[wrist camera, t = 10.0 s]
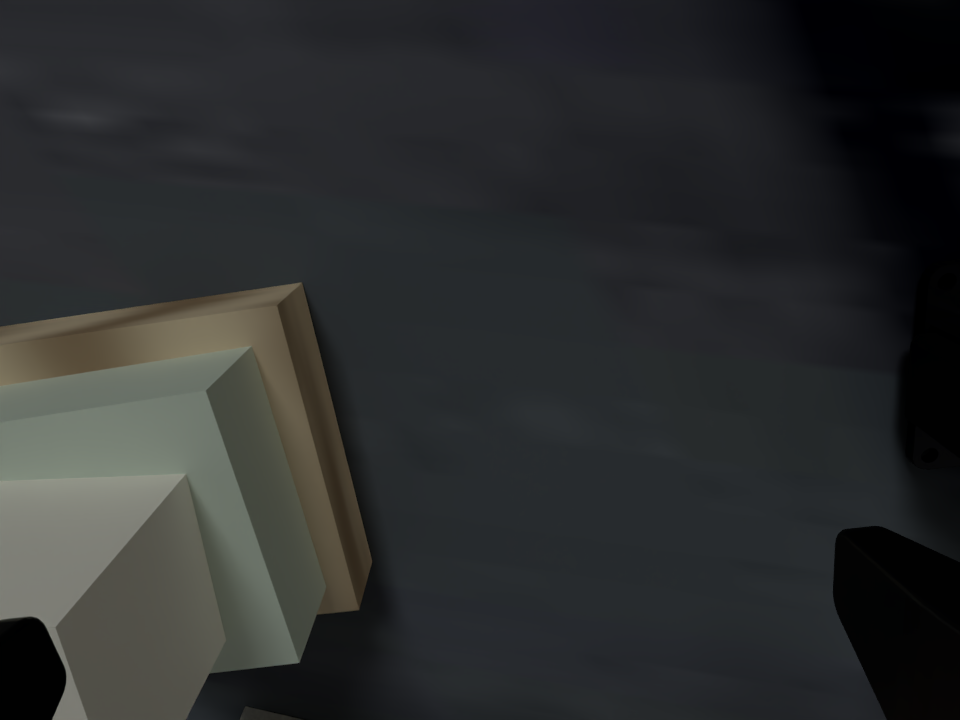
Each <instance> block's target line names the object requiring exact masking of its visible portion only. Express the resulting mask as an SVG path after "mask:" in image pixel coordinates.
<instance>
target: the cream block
mask: <svg viewBox="0 0 960 720" xmlns="http://www.w3.org/2000/svg"><path fill="white" fill-rule="evenodd" d="M27 616H32V617H36V618H38V619H40V620H41V621H42V622H43V623H44V624H45V626H46V628H47V630H48V632H49V634H50V637H51V639H52V641H53V643H54V645H55V647H56V649H57V651H58V654H59V656H60V658H61V660H62V662H63V664H64V667H65V669H66V676H67V677H66V686H65V691H64V693H63V696H62V698H61V701H60V703H59V705H58V707H57V710H56V712H55V714H54V717H53V719H52V720H186V718H187V716H188V714H189V712H190V710H191V708H192V706H193V704H194V702H195V700H196V698H197V697H198V695H199V693H200V691H201V689H202V687H203V685H204V683H205V681H206V679H207V677H208V675H209V673H210V671H211V669H212V667H213V665H214V663H215V661H216V659H217V657H218V655H219V653H220V651H221V649H222V647H223V645H224V643H225V642H226V637H225V633H224V629H223V625H222V621H221V617H220V612H219V608H218V604H217V600H216V596H215V592H214V588H213V583H212V579H211V575H210V571H209V567H208V563H207V558H206V554H205V550H204V546H203V542H202V538H201V534H200V529H199V525H198V521H197V517H196V513H195V509H194V505H193V501H192V497H191V492H190V488H189V484H188V480H187V476H186V474H169V475H143V476H117V477H90V478H64V479H38V480H12V481H0V620H2V619H8V618H18V617H27Z"/></svg>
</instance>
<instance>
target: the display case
mask: <svg viewBox="0 0 960 720" xmlns="http://www.w3.org/2000/svg"><path fill="white" fill-rule="evenodd" d="M240 720H303V719H299V718H294V717H290V716H286V715H281V714H277V713H272V712H268V711H264V710H259V709H255V708H250V707H246V706H245V708H244V711H243V713H242V715H241V718H240Z"/></svg>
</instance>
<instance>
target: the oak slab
mask: <svg viewBox="0 0 960 720" xmlns="http://www.w3.org/2000/svg"><path fill="white" fill-rule="evenodd" d="M248 346H252V349H253V352H254V355H255V358H256V362H257V365H258V368H259V371H260V374H261V378H262V381H263V384H264V387H265V391H266V394H267V397H268V400H269V403H270V407H271V410H272V413H273V416H274V420H275V423H276V426H277V429H278V432H279V436H280V439H281V442H282V445H283V449H284V452H285V455H286V458H287V461H288V465H289V468H290V471H291V474H292V478H293V481H294V484H295V487H296V490H297V494H298V497H299V500H300V503H301V507H302V510H303V513H304V516H305V519H306V523H307V526H308V529H309V532H310V536H311V539H312V542H313V545H314V548H315V552H316V555H317V558H318V561H319V565H320V568H321V571H322V574H323V577H324V581H325V584H326V590H325V593H324V595H323V598H322V601H321V604H320V607H319V610H318V612H317V615H318V614H327V613H336V612H346V611H355V610H359V608H360V605H361V601H362V597H363V594H364V590H365V586H366V583H367V579H368V575H369V572H370V568H371V564H372V558H371V554H370V550H369V546H368V542H367V538H366V534H365V530H364V526H363V522H362V519H361V515H360V511H359V507H358V503H357V499H356V495H355V491H354V487H353V483H352V479H351V475H350V471H349V467H348V463H347V459H346V455H345V451H344V447H343V443H342V439H341V435H340V431H339V427H338V423H337V419H336V415H335V411H334V407H333V403H332V399H331V395H330V391H329V387H328V383H327V379H326V375H325V371H324V367H323V363H322V359H321V355H320V352H319V348H318V344H317V340H316V336H315V332H314V328H313V324H312V320H311V316H310V312H309V308H308V304H307V300H306V296H305V292H304V288H303V284H302V283H296V284H289V285H282V286H275V287H268V288H262V289H255V290H248V291H241V292H234V293H227V294H221V295H214V296H207V297H200V298H193V299H187V300H180V301H173V302H166V303H159V304H152V305H146V306H139V307H132V308H125V309H118V310H111V311H105V312H98V313H91V314H84V315H77V316H71V317H64V318H57V319H50V320H43V321H36V322H30V323H23V324H16V325H9V326H2V327H0V386H4V385H10V384H16V383H22V382H29V381H35V380H41V379H48V378H54V377H60V376H66V375H73V374H79V373H85V372H91V371H98V370H104V369H110V368H117V367H123V366H129V365H135V364H142V363H148V362H154V361H160V360H167V359H173V358H179V357H186V356H192V355H198V354H204V353H211V352H217V351H223V350H229V349H236V348H242V347H248Z"/></svg>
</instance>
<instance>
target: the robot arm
mask: <svg viewBox="0 0 960 720" xmlns="http://www.w3.org/2000/svg"><path fill="white" fill-rule="evenodd" d="M944 274H947V276H948V278H947V281H946V283H945V284H944V285H943V286H940V287H938V281H939V279H940V278H941V277H942V276H943V275H944ZM905 417H906V418H907V419H908V427H907V439H906V457H907V458H908V459H909V461H911V462H912V463H913V464H914V465H915V466H917V467H918V468H920V469H926V470H929V469H938V468H947V467H956V466H960V259H955V260H947V261H940V262H937V263H934V264H932V265H930V266H929V267H928V268H926V270H925V271H924V272H923V274H922V276H921V280H920V288H919V300H918V311H917V323H916V335H915V338H914V339H913V341H912V342H911V347H910V358H909V370H908V382H907V394H906V406H905ZM929 448H931V449H930V451H929V453H927V454H926V455H924V456H921V455H922V453H923V452H924V451H925V450H926V449H929ZM833 598H834V603H835V607H836V610H837V614H838V616H839V618H840V620H841V623H842V625H843V627H844V629H845V631H846V633H847V635H848V638H849V640H850V642H851V644H852V646H853V648H854V650H855V652H856V655H857V657H858V659H859V661H860V663H861V665H862V667H863V670H864V672H865V674H866V676H867V678H868V680H869V682H870V685H871V687H872V689H873V691H874V693H875V695H876V697H877V700H878V702H879V704H880V706H881V708H882V710H883V712H884V714H885V717H886V719H887V720H960V562H958V561H956V560H953V559H951V558H949V557H947V556H945V555H943V554H940V553H938V552H936V551H934V550H932V549H930V548H927V547H925V546H923V545H921V544H919V543H917V542H914V541H912V540H910V539H908V538H906V537H904V536H901V535H899V534H897V533H895V532H893V531H891V530H888V529H886V528H883V527H880V526H870V527H860V528H851V529H844V530H842V531H841V532H840V533H839V534H838V535H837V538H836V542H835V559H834V580H833ZM66 677H67V676H66V669H65V667H64V664H63V662H62V660H61V658H60V656H59V654H58V651H57V649H56V647H55V645H54V643H53V641H52V639H51V637H50V634H49V632H48V630H47V628H46V626H45V624H44V623H43V622H42V621H41V620H40V619H38V618H36V617H32V616H27V617H18V618H8V619H2V620H0V720H52V719H53V717H54V714H55V712H56V710H57V707H58V705H59V703H60V701H61V698H62V696H63V693H64V691H65V686H66Z"/></svg>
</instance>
